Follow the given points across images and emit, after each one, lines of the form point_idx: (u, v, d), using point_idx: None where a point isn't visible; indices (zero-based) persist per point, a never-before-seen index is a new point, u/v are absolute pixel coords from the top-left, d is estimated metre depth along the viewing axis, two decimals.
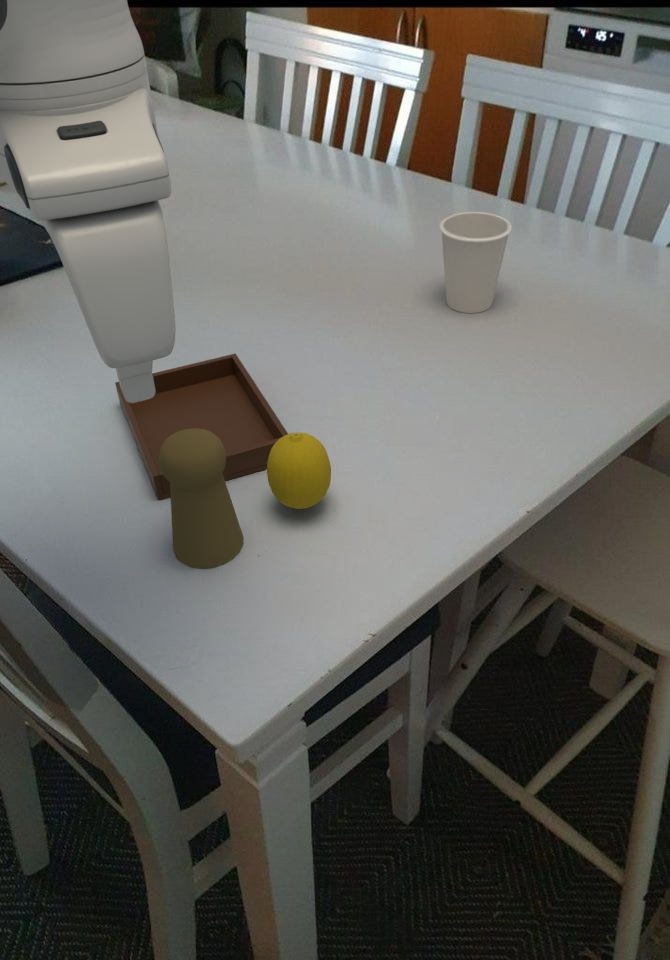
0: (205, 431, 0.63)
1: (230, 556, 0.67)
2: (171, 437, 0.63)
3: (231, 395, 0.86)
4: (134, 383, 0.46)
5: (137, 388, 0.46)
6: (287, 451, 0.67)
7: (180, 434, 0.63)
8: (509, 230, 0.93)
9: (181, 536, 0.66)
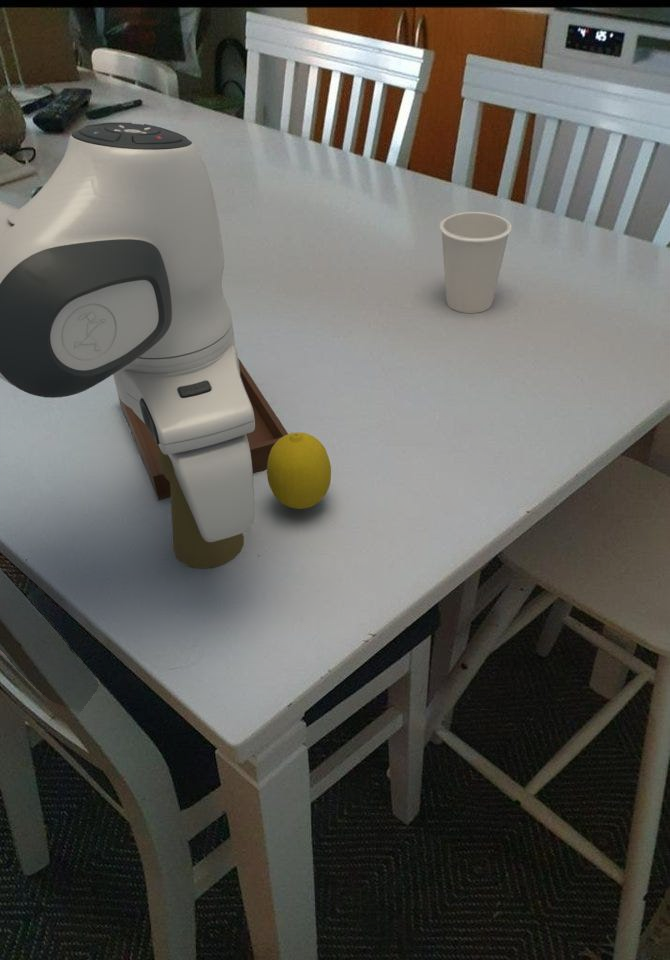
0: None
1: (230, 556, 0.67)
2: None
3: None
4: None
5: None
6: (287, 451, 0.67)
7: None
8: (509, 230, 0.93)
9: (181, 536, 0.66)
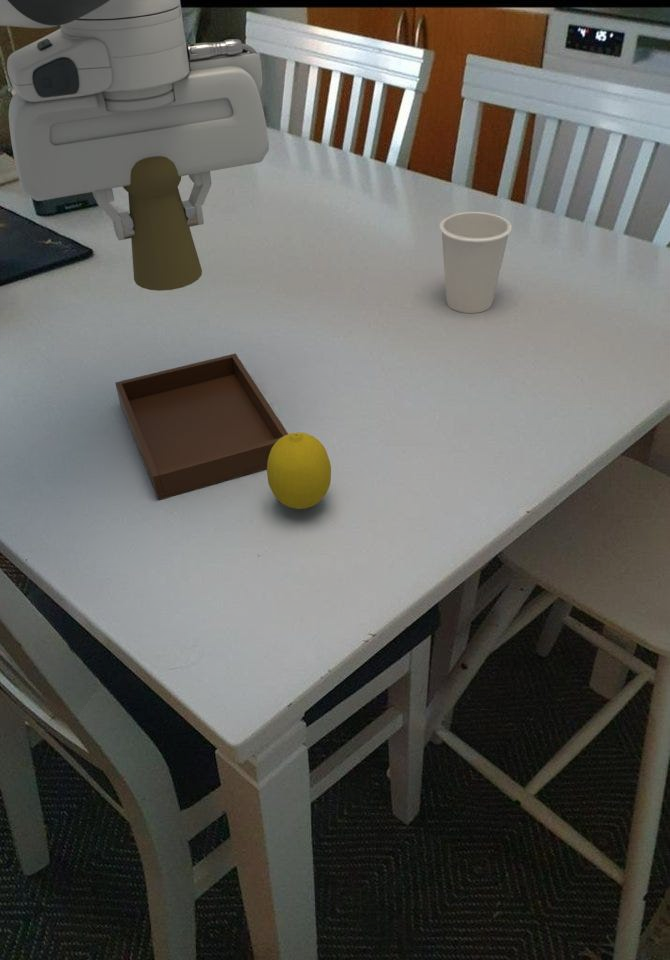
0: None
1: (140, 283, 0.70)
2: None
3: (231, 395, 0.86)
4: (114, 223, 0.68)
5: (115, 227, 0.68)
6: (287, 451, 0.67)
7: None
8: (509, 230, 0.93)
9: None
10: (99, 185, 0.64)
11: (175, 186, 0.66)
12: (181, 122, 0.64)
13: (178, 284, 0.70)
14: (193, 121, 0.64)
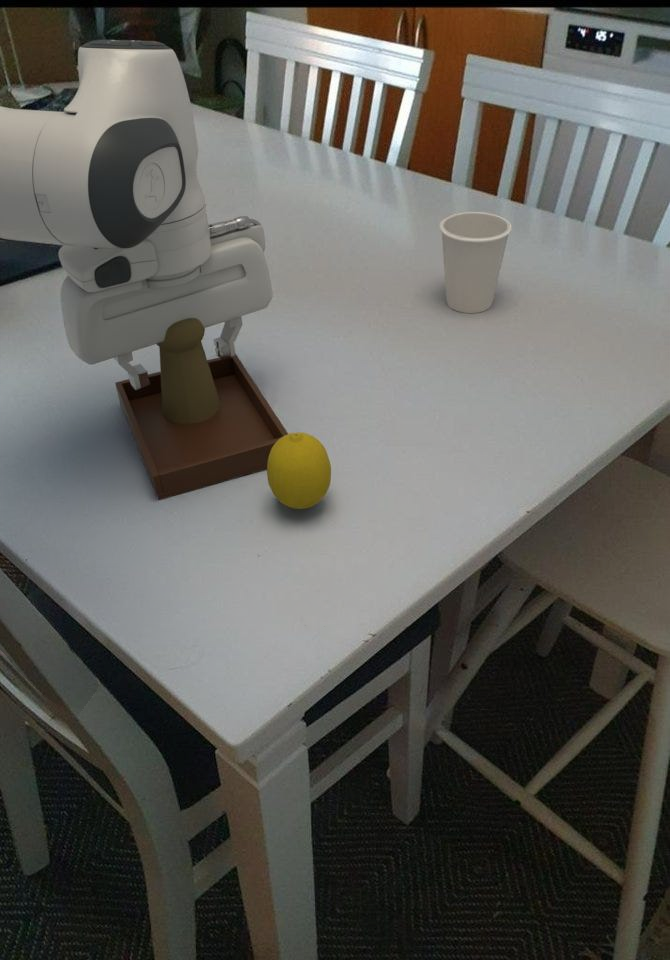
0: None
1: (171, 418, 0.82)
2: None
3: (231, 395, 0.86)
4: (130, 375, 0.79)
5: (131, 379, 0.79)
6: (287, 451, 0.67)
7: None
8: (509, 230, 0.93)
9: None
10: (140, 345, 0.75)
11: (201, 340, 0.79)
12: (204, 287, 0.76)
13: (205, 416, 0.82)
14: (214, 285, 0.77)
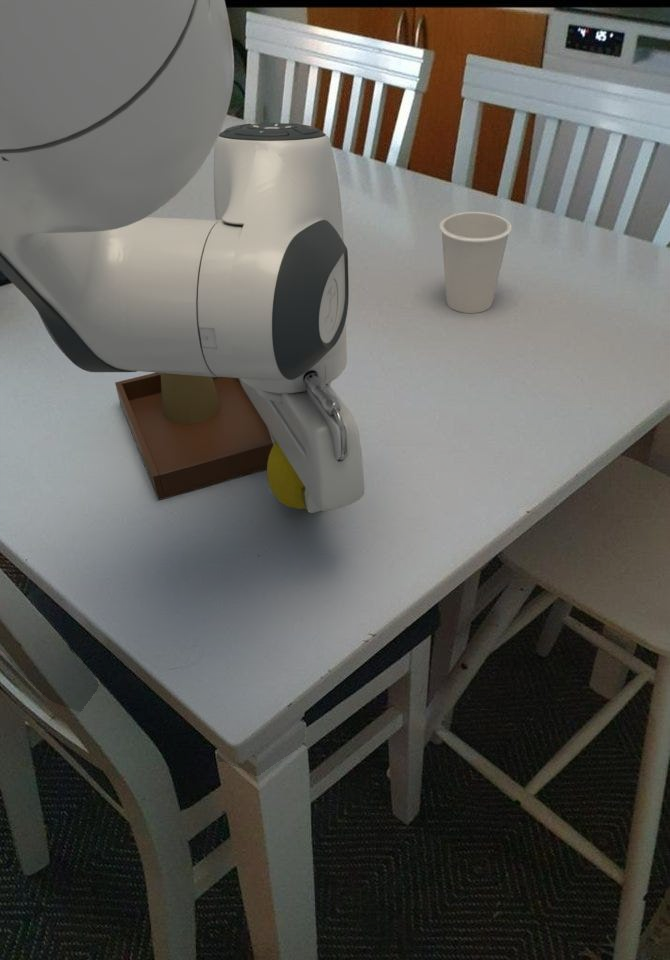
0: None
1: (171, 418, 0.82)
2: None
3: (231, 395, 0.86)
4: None
5: None
6: None
7: None
8: (509, 230, 0.93)
9: None
10: (259, 413, 0.70)
11: None
12: (288, 422, 0.63)
13: (205, 416, 0.82)
14: (293, 430, 0.62)
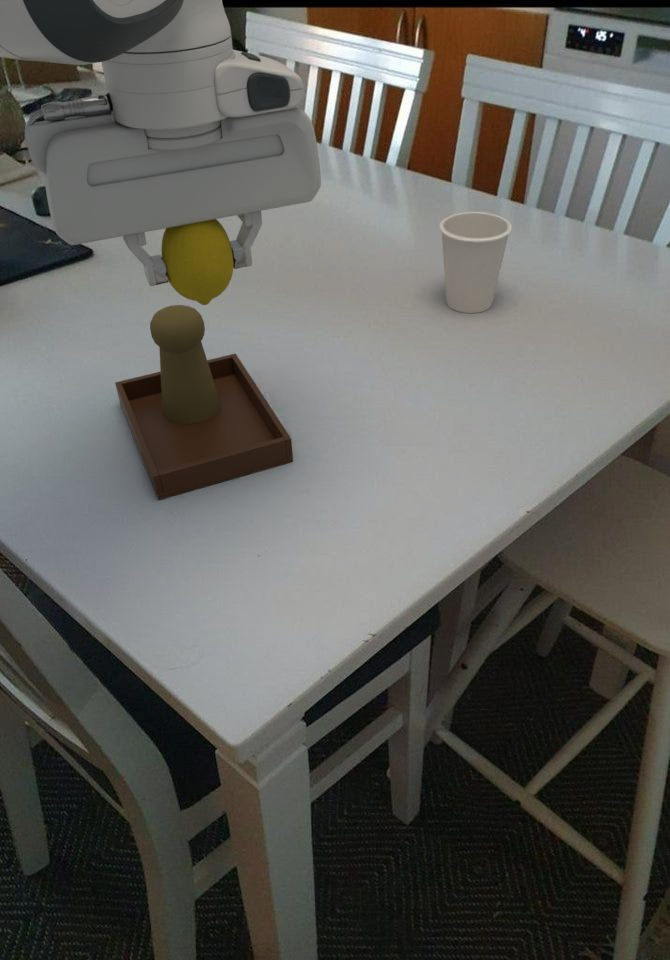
0: (190, 317, 0.77)
1: (171, 418, 0.82)
2: (181, 305, 0.79)
3: (231, 395, 0.86)
4: None
5: None
6: None
7: (184, 307, 0.78)
8: (509, 230, 0.93)
9: None
10: None
11: (201, 340, 0.79)
12: None
13: (205, 416, 0.82)
14: None
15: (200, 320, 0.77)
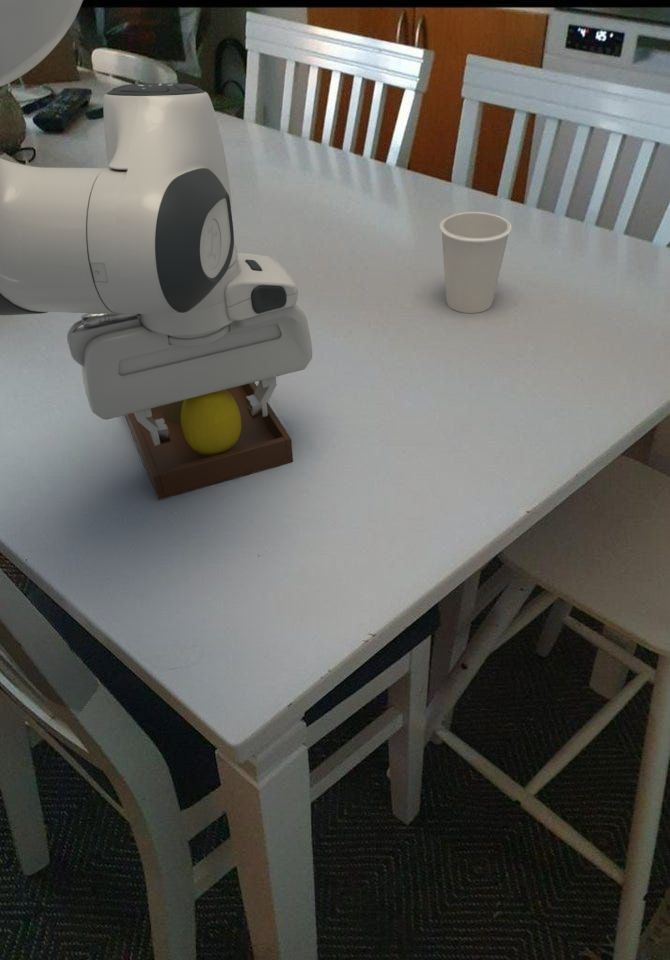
0: None
1: (171, 418, 0.82)
2: None
3: None
4: None
5: None
6: None
7: None
8: (509, 230, 0.93)
9: None
10: None
11: None
12: None
13: None
14: None
15: None
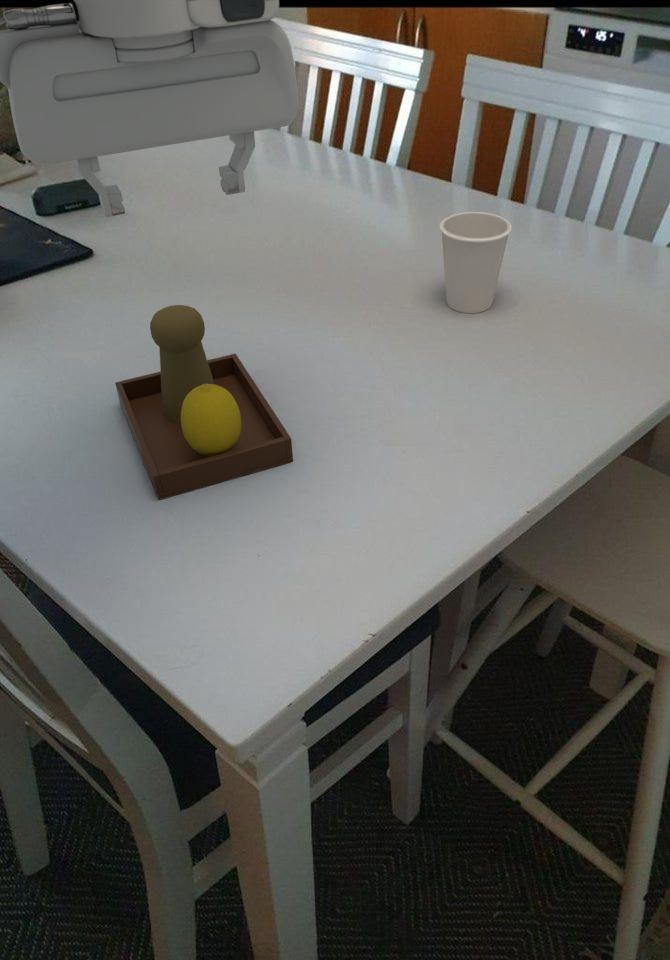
0: (190, 317, 0.77)
1: (171, 418, 0.82)
2: (181, 305, 0.79)
3: None
4: None
5: None
6: (194, 388, 0.74)
7: (184, 307, 0.78)
8: (509, 230, 0.93)
9: None
10: None
11: (201, 340, 0.79)
12: None
13: None
14: None
15: (200, 320, 0.77)
